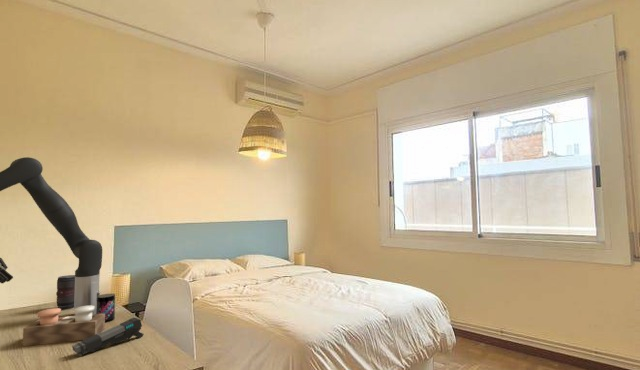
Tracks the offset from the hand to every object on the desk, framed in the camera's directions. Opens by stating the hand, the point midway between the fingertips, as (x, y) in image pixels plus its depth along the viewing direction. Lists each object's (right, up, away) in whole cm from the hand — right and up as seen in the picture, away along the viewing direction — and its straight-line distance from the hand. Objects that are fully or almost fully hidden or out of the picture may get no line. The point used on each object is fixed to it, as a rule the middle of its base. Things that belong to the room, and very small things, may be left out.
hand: (7, 280), depth 122 cm
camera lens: (-10, -25, +42) cm, 50 cm away
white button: (+24, -19, +5) cm, 31 cm away
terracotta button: (+13, -19, +2) cm, 23 cm away
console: (+18, -22, +3) cm, 29 cm away
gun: (+40, -21, -6) cm, 46 cm away
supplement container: (+21, -23, +22) cm, 38 cm away
